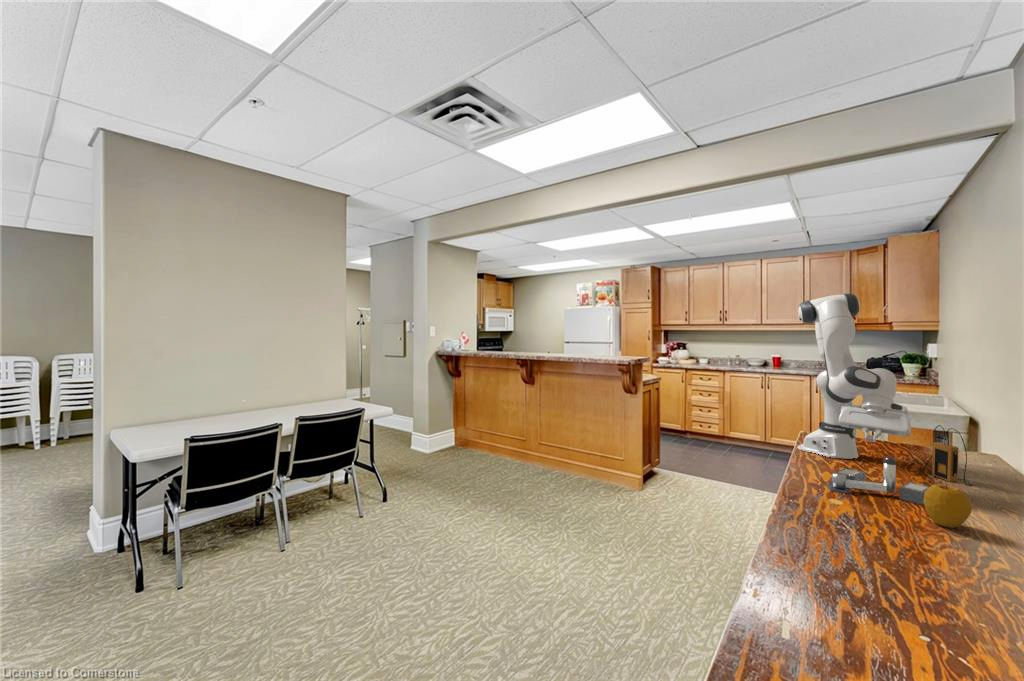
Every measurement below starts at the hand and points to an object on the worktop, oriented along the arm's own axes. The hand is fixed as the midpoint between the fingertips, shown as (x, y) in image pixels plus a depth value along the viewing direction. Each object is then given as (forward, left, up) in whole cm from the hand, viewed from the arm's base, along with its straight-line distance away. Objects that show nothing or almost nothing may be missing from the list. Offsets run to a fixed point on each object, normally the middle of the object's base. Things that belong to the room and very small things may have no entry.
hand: (869, 440), depth 154 cm
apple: (+24, -19, -17) cm, 35 cm away
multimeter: (+14, +37, -17) cm, 43 cm away
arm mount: (-4, -13, -16) cm, 22 cm away
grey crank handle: (+1, -9, -15) cm, 18 cm away
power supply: (+13, -1, -16) cm, 21 cm away
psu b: (-5, -2, -16) cm, 17 cm away
